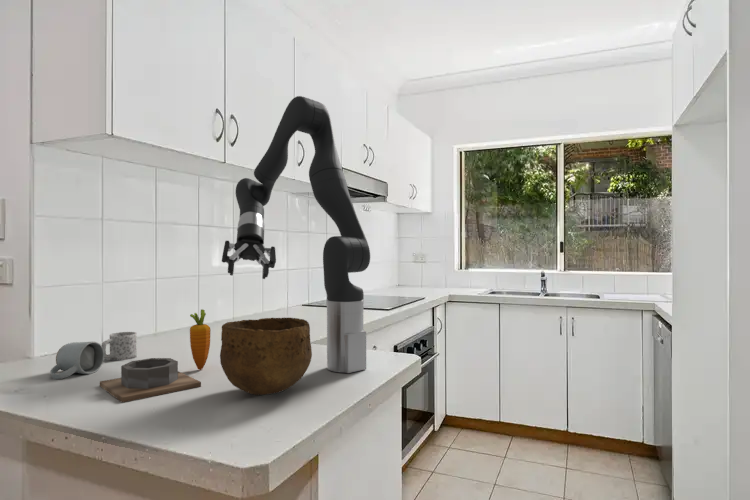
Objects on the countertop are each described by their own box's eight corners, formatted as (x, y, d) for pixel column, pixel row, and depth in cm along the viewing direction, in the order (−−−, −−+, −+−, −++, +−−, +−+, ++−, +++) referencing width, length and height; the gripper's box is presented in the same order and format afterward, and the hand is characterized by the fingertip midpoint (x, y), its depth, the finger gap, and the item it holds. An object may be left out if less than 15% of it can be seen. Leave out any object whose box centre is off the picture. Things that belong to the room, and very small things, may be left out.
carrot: (197, 373, 117) (196, 311, 117) (185, 370, 120) (185, 310, 120) (214, 369, 121) (214, 309, 121) (203, 366, 124) (203, 308, 124)
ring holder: (200, 386, 107) (200, 363, 106) (122, 402, 96) (121, 377, 95) (172, 372, 118) (172, 352, 118) (99, 385, 107) (99, 363, 107)
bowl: (282, 375, 115) (282, 313, 115) (329, 393, 101) (328, 322, 101) (204, 391, 103) (204, 321, 103) (245, 414, 89) (245, 332, 89)
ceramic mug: (78, 367, 124) (77, 337, 124) (105, 369, 122) (104, 339, 122) (40, 379, 114) (39, 346, 113) (69, 381, 111) (68, 348, 111)
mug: (125, 354, 139) (124, 331, 139) (142, 356, 137) (141, 332, 137) (92, 361, 130) (92, 337, 130) (110, 364, 128) (110, 338, 128)
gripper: (226, 218, 135) (221, 263, 125) (278, 225, 140) (277, 269, 129) (223, 236, 140) (219, 281, 130) (273, 242, 145) (272, 286, 134)
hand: (248, 275), depth 130 cm, fingers open, 8 cm apart
